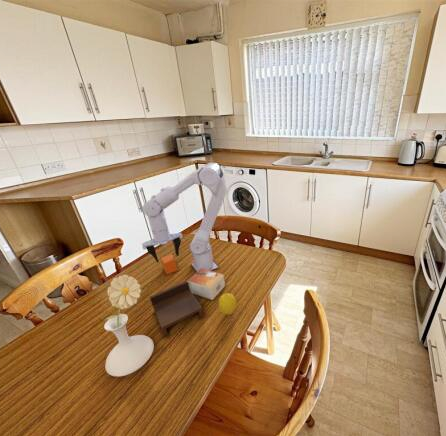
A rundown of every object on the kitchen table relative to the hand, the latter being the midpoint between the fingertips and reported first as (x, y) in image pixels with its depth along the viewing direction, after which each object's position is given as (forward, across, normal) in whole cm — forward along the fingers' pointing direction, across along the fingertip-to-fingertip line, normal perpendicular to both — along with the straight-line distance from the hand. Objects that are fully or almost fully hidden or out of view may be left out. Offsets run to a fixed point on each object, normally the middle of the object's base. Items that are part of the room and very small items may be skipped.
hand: (167, 258), depth 97 cm
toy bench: (+6, -3, -27) cm, 28 cm away
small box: (+3, +12, -26) cm, 28 cm away
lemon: (+6, +10, -36) cm, 38 cm away
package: (+6, 0, 0) cm, 6 cm away
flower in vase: (+6, -17, -35) cm, 39 cm away
